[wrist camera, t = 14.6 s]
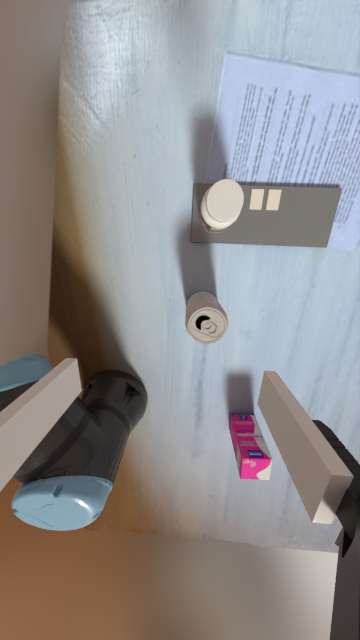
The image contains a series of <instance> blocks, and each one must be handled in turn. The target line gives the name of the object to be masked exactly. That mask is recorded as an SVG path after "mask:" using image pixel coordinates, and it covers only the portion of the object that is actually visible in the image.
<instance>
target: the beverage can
mask: <svg viewBox="0 0 360 640" xmlns="http://www.w3.org/2000/svg"><path fill="white" fill-rule="evenodd" d="M185 325H186V329H187V332H188V333H189V335H190V336H191V337H192V338H193V339H194V340H196V341H197V342H200V343H203V344H210V343H214V342H216V341H218V340H219V339H221V338H222V337H223V335H224V334H225V332H226V329H227V325H228V319H227V315H226V313H225V311H224V310H223V308H222V307H221V305H220V304H219V302H218V300H217V299H216V297H215V296H214V295H213V294H211V293H209V292H206V291H200V292H197V293H194V294H193V295H192V296H191V297H190V298H189V299H188V302H187V306H186V321H185Z"/></svg>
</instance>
